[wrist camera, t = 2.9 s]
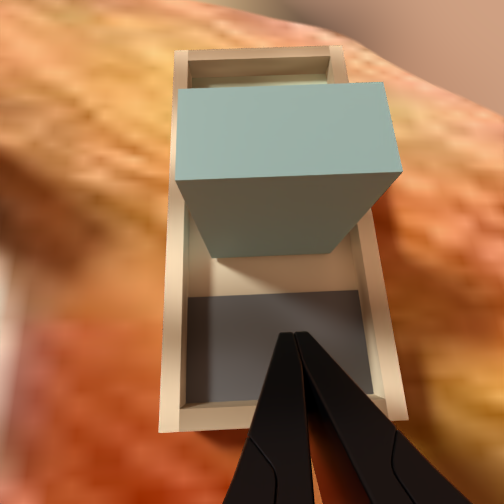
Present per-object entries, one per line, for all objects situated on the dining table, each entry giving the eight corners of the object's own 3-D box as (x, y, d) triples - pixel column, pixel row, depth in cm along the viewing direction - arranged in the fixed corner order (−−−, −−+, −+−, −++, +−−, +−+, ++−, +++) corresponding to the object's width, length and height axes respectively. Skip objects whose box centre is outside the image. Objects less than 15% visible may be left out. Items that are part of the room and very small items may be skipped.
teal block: (330, 253, 15) (402, 171, 8) (211, 258, 15) (174, 180, 8) (323, 199, 16) (383, 82, 9) (211, 204, 16) (178, 89, 9)
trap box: (382, 407, 14) (408, 420, 12) (174, 417, 14) (158, 432, 12) (331, 80, 20) (342, 45, 18) (183, 85, 20) (174, 50, 18)
